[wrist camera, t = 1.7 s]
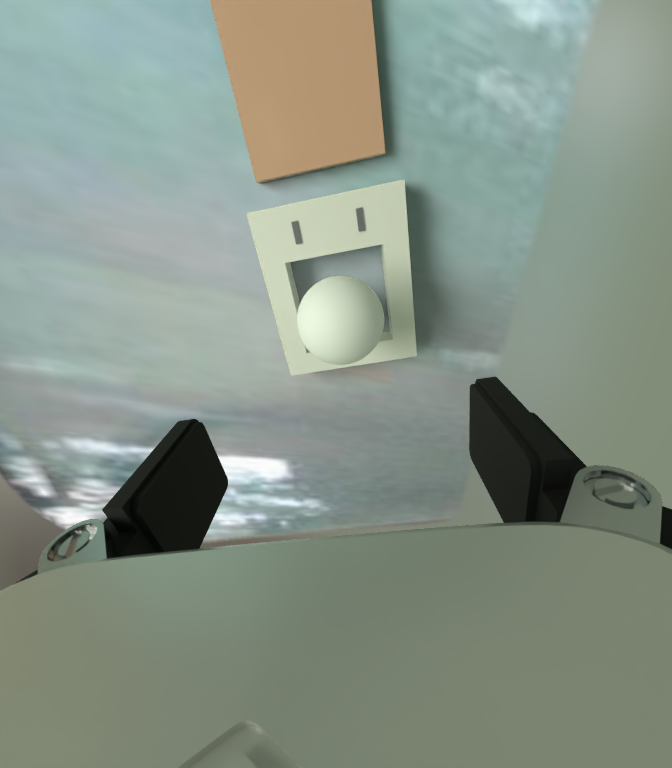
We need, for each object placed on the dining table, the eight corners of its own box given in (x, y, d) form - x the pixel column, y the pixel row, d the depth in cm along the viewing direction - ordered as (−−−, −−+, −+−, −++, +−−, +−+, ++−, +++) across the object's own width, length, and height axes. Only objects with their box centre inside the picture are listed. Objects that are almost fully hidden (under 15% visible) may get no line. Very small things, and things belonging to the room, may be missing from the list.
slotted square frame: (254, 213, 26) (245, 213, 24) (399, 182, 25) (404, 179, 23) (294, 364, 33) (290, 376, 31) (412, 346, 31) (417, 356, 29)
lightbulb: (341, 246, 27) (337, 261, 18) (388, 295, 29) (409, 334, 20) (295, 297, 30) (270, 336, 20) (342, 340, 31) (340, 396, 22)
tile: (215, 7, 21) (209, -2, 20) (366, -37, 20) (366, -49, 19) (259, 183, 25) (256, 182, 25) (383, 155, 24) (385, 152, 23)
